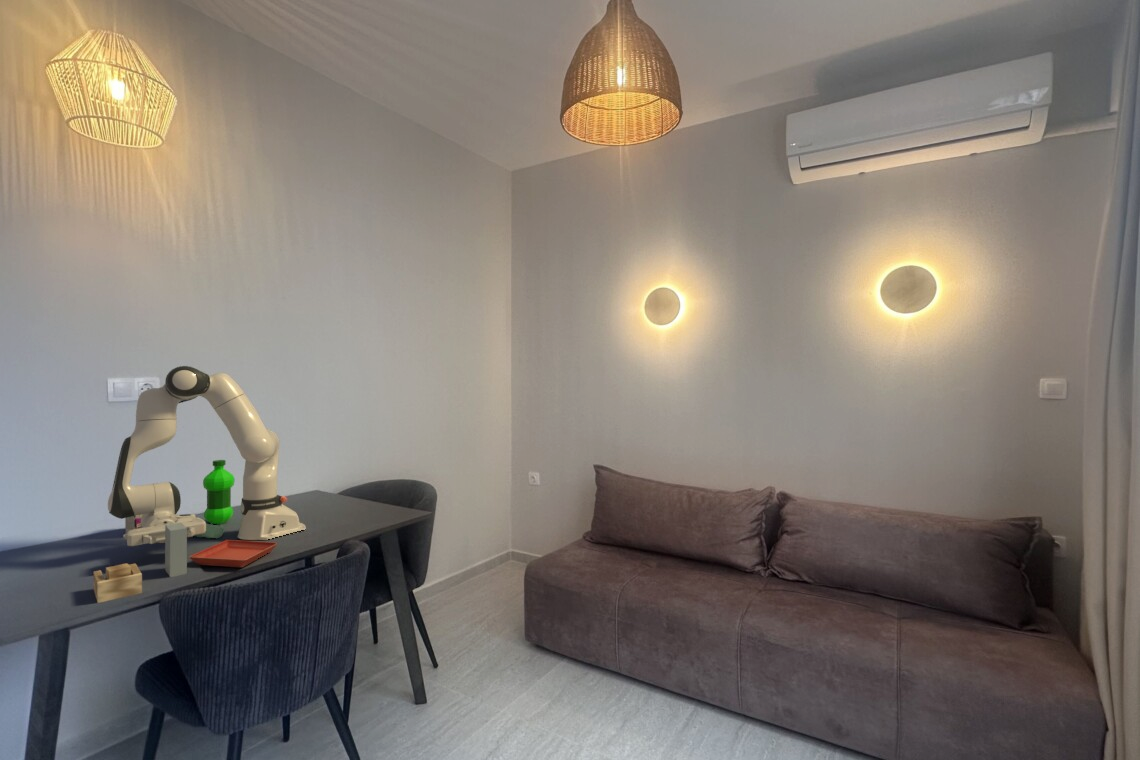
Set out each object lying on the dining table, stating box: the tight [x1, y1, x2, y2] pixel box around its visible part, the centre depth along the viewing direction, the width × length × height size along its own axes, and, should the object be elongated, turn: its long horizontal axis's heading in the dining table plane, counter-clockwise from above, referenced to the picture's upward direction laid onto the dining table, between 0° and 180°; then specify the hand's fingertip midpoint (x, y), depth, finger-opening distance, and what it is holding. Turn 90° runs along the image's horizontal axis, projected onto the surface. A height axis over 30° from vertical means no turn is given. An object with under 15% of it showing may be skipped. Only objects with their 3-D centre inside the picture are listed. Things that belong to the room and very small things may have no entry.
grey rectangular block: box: [164, 523, 188, 578], centre depth 159 cm, size 4×8×14 cm, turn 46°
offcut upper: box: [105, 563, 131, 580], centre depth 144 cm, size 4×4×3 cm
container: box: [192, 523, 224, 539], centre depth 197 cm, size 6×6×25 cm
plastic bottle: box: [202, 459, 236, 525], centre depth 213 cm, size 10×10×25 cm
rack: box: [93, 563, 143, 604], centre depth 145 cm, size 9×12×6 cm
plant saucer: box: [188, 539, 278, 568], centre depth 172 cm, size 18×18×3 cm
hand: (172, 537), depth 164 cm, fingers open, 8 cm apart
